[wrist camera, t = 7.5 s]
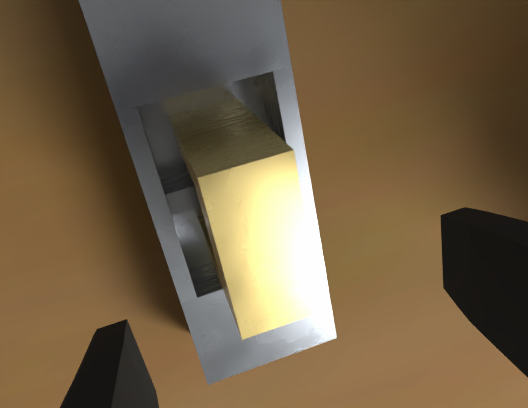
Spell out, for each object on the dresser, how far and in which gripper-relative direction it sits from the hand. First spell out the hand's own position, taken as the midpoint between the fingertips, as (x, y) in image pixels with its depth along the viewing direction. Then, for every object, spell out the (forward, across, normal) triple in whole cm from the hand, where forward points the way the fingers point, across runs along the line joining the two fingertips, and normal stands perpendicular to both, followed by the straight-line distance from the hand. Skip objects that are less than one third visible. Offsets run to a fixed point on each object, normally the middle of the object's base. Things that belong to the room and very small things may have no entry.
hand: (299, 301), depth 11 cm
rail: (+9, 0, 0) cm, 9 cm away
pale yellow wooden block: (+8, 0, 0) cm, 8 cm away
